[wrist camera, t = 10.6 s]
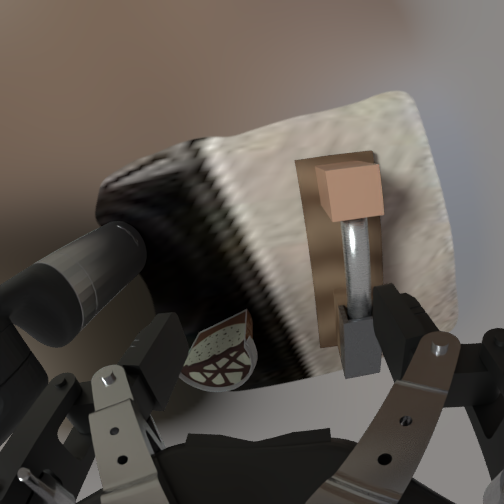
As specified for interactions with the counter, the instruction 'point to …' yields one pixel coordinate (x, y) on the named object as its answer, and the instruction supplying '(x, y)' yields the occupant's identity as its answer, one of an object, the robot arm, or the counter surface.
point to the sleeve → (358, 345)
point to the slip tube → (357, 267)
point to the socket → (350, 190)
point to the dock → (332, 247)
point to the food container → (222, 355)
